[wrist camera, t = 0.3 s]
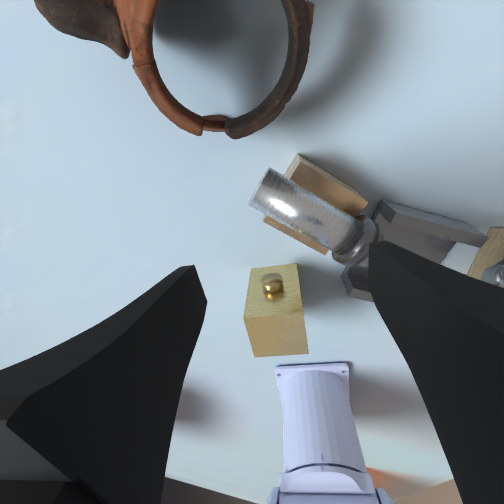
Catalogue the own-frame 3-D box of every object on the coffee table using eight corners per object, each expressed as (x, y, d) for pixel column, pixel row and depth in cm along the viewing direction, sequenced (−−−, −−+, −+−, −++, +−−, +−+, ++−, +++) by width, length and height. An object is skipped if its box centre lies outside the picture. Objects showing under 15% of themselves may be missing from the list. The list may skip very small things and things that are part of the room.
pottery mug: (297, -134, 12) (375, -136, 7) (272, 90, 19) (301, 156, 15) (3, -167, 10) (-138, -197, 5) (106, 93, 18) (84, 169, 13)
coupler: (302, 305, 24) (309, 361, 18) (260, 309, 24) (256, 363, 19) (295, 255, 21) (302, 303, 16) (249, 261, 22) (240, 309, 17)
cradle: (463, 221, 18) (489, 237, 16) (410, 294, 22) (425, 315, 20) (381, 199, 18) (396, 212, 16) (340, 276, 22) (348, 296, 19)
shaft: (372, 200, 18) (407, 233, 13) (334, 246, 20) (352, 289, 15) (278, 142, 17) (279, 155, 12) (247, 197, 19) (237, 228, 14)
